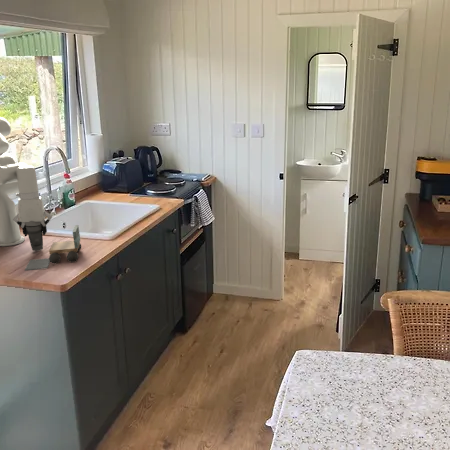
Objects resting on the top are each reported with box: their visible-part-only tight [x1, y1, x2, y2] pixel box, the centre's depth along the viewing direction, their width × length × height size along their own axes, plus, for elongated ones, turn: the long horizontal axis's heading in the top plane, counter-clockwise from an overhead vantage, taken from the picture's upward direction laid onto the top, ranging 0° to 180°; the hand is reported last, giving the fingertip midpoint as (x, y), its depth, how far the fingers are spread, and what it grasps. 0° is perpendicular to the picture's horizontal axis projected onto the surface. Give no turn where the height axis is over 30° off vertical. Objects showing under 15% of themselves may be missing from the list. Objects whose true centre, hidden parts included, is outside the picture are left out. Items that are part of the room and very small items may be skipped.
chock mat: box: [24, 257, 51, 271], centre depth 203 cm, size 9×10×1 cm
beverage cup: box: [25, 221, 44, 252], centre depth 215 cm, size 7×7×20 cm
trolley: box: [48, 224, 82, 265], centre depth 208 cm, size 12×13×12 cm
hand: (35, 234), depth 216 cm, fingers closed on beverage cup, 7 cm apart
